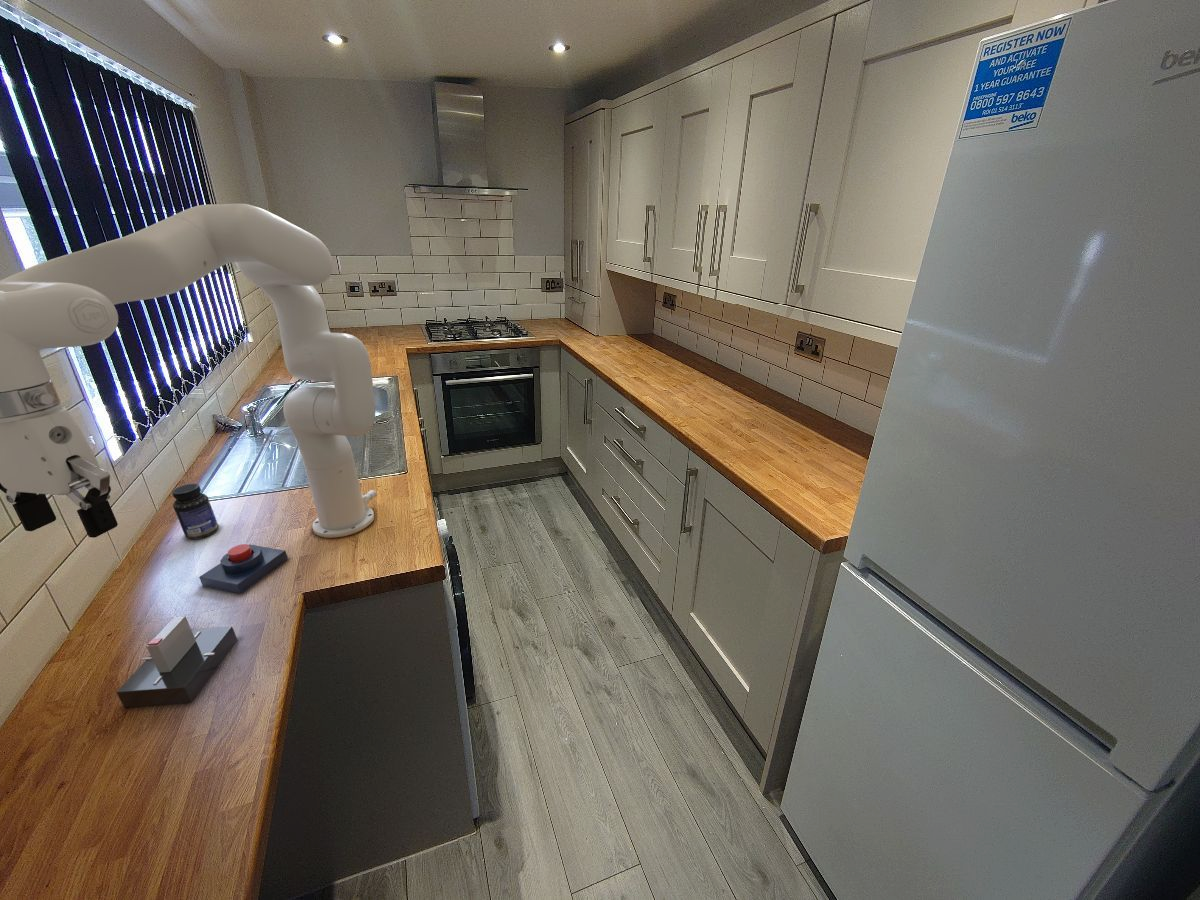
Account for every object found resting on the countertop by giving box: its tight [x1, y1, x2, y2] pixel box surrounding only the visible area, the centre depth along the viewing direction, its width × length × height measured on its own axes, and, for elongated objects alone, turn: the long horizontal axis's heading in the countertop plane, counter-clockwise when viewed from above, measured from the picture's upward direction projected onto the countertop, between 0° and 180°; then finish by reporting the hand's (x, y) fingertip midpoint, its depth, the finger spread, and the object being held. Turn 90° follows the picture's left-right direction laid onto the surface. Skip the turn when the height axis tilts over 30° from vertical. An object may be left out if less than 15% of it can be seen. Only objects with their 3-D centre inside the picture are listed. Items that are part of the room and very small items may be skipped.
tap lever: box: [145, 615, 196, 673], centre depth 77 cm, size 6×2×5 cm, turn 5°
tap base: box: [116, 625, 238, 709], centre depth 79 cm, size 12×10×3 cm
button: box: [227, 543, 252, 562], centre depth 100 cm, size 4×4×2 cm
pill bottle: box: [171, 483, 220, 540], centre depth 113 cm, size 6×6×11 cm
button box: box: [198, 543, 289, 595], centre depth 101 cm, size 11×9×4 cm
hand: (72, 528), depth 67 cm, fingers open, 9 cm apart
